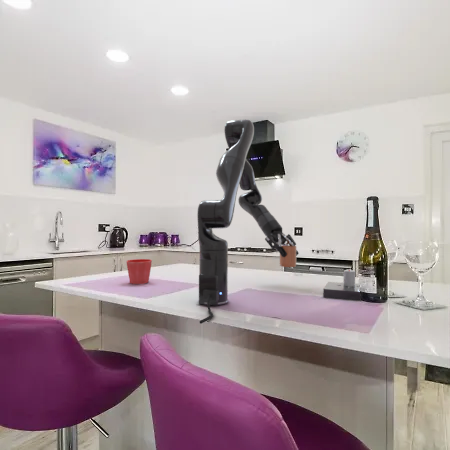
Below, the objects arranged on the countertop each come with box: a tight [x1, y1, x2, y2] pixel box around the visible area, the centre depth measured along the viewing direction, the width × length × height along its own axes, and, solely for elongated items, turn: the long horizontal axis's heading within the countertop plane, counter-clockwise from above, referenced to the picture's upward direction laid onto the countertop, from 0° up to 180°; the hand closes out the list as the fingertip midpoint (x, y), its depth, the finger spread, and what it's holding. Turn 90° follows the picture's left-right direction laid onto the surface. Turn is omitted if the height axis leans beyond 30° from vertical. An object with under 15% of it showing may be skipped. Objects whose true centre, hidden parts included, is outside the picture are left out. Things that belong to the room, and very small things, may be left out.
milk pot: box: [279, 245, 297, 268], centre depth 132 cm, size 6×6×8 cm
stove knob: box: [343, 268, 356, 287], centre depth 121 cm, size 4×4×6 cm
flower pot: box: [126, 258, 153, 285], centre depth 144 cm, size 11×11×10 cm
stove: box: [322, 281, 362, 302], centre depth 120 cm, size 16×12×3 cm
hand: (291, 255), depth 131 cm, fingers closed on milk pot, 6 cm apart
